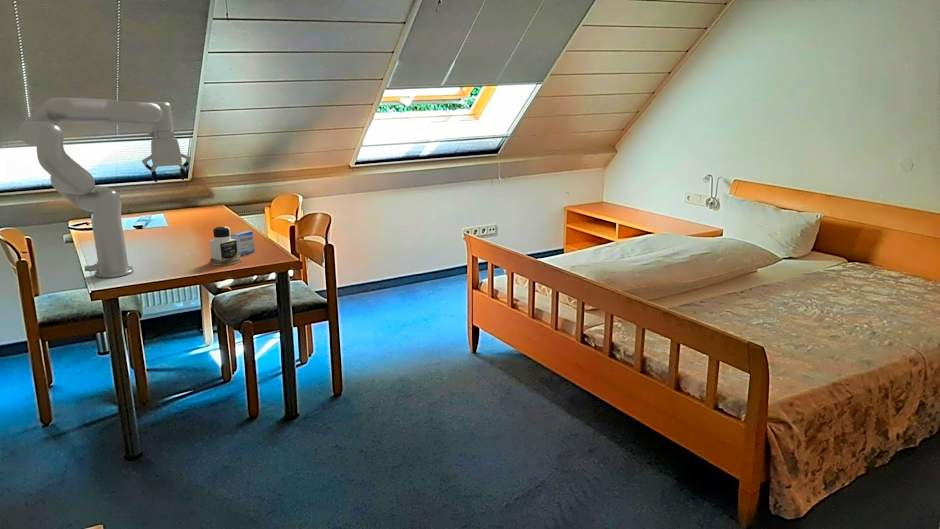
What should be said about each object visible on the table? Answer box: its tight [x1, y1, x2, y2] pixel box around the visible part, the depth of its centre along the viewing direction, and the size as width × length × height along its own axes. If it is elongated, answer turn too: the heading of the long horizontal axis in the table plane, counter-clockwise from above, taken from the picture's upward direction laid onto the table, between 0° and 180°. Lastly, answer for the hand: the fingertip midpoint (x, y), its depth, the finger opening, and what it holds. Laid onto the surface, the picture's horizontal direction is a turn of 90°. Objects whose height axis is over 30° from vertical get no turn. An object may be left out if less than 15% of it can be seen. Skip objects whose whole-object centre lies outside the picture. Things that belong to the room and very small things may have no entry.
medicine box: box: [230, 230, 256, 257], centre depth 278 cm, size 8×4×9 cm, turn 151°
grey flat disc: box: [209, 255, 243, 267], centre depth 267 cm, size 12×12×2 cm
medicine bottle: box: [208, 226, 238, 261], centre depth 265 cm, size 7×7×12 cm
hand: (169, 180), depth 267 cm, fingers open, 9 cm apart
